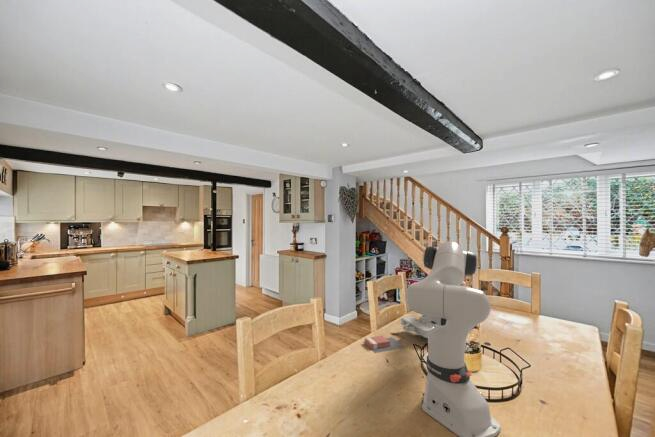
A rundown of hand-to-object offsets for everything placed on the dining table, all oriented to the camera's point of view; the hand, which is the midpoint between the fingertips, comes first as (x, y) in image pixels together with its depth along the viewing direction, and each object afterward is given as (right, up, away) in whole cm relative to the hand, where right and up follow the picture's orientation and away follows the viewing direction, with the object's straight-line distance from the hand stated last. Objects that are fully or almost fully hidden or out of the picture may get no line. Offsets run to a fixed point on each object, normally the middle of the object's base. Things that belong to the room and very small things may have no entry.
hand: (404, 328), depth 135 cm
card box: (-11, -4, -4) cm, 12 cm away
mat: (-12, -6, -6) cm, 14 cm away
